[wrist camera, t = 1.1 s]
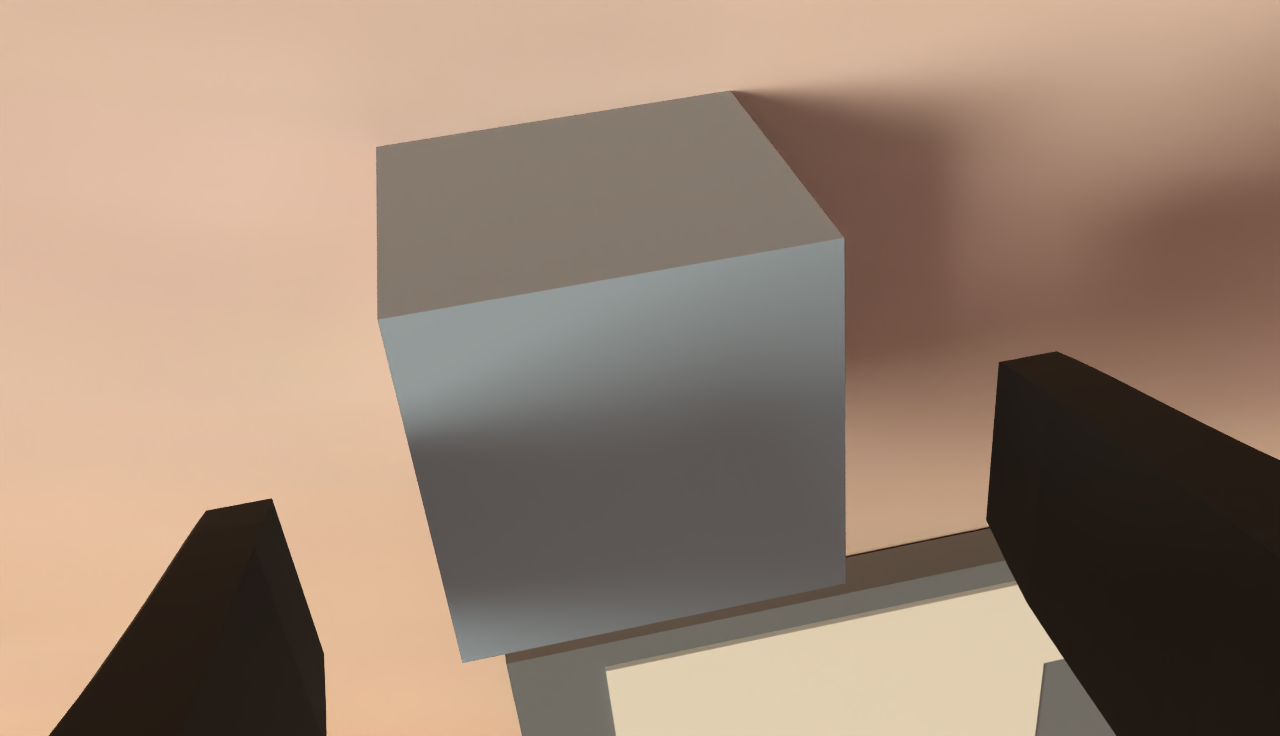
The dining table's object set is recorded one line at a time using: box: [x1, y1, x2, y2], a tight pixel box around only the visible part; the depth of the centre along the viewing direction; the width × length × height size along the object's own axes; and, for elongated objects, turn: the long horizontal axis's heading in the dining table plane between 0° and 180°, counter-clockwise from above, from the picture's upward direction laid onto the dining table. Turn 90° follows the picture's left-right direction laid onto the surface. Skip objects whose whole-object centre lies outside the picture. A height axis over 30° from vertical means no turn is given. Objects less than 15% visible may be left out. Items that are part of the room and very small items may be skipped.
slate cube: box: [376, 91, 846, 663], centre depth 14 cm, size 4×4×4 cm
